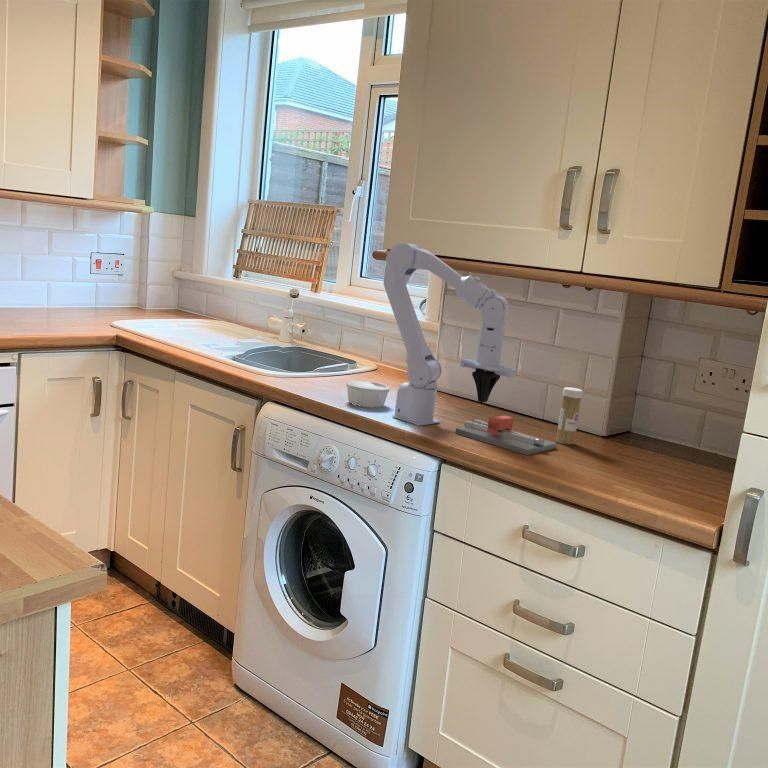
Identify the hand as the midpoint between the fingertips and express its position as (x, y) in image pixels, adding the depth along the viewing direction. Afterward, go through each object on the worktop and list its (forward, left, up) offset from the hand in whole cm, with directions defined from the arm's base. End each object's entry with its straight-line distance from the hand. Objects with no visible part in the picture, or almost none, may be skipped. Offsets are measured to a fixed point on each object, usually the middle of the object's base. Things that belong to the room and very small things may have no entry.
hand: (482, 401), depth 195 cm
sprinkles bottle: (+16, +14, -8) cm, 23 cm away
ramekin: (-33, -5, -8) cm, 34 cm away
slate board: (+8, 0, -8) cm, 11 cm away
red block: (+6, 0, -6) cm, 8 cm away
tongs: (+8, 0, -6) cm, 10 cm away
